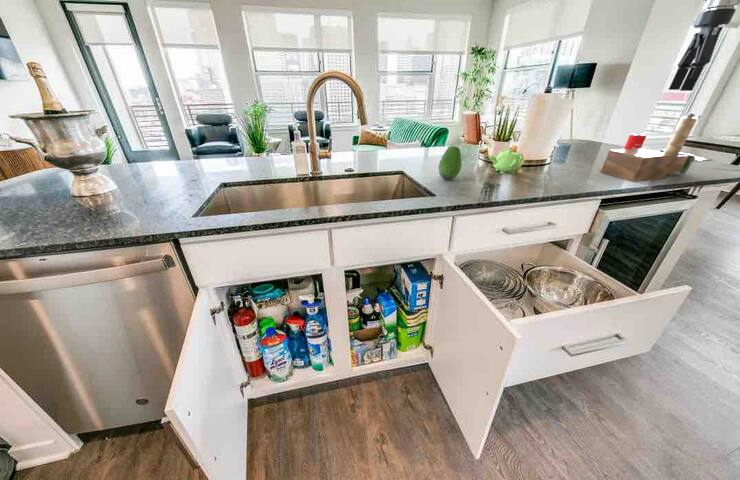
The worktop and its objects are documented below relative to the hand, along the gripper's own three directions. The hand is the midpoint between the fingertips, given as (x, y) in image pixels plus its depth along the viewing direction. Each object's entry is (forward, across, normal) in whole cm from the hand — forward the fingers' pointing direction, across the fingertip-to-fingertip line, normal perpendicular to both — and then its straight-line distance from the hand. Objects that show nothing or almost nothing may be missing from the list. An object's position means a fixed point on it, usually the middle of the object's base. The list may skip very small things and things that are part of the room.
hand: (679, 90), depth 93 cm
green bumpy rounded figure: (+28, +26, -46) cm, 60 cm away
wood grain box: (+28, +7, -4) cm, 29 cm away
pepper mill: (+26, 0, +6) cm, 27 cm away
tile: (+28, -38, +25) cm, 54 cm away
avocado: (+28, +47, -61) cm, 82 cm away
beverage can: (+28, -13, -3) cm, 31 cm away
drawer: (+27, -2, +6) cm, 28 cm away
